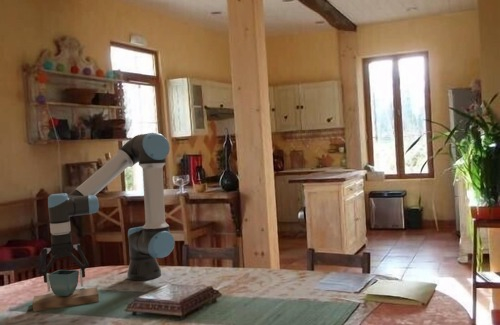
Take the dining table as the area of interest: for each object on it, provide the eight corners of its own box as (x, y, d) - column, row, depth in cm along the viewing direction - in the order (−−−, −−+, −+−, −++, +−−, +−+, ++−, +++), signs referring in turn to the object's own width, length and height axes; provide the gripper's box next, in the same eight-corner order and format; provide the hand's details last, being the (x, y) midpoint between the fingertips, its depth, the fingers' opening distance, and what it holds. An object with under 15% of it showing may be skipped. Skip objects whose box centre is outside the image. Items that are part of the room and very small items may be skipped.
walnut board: (97, 294, 231) (96, 287, 231) (99, 301, 219) (98, 293, 219) (34, 303, 223) (34, 296, 223) (33, 311, 212) (32, 303, 212)
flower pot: (69, 297, 216) (69, 274, 216) (48, 297, 217) (47, 274, 217) (80, 292, 224) (79, 269, 224) (59, 292, 226) (58, 269, 226)
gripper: (92, 228, 228) (96, 281, 228) (28, 235, 220) (33, 290, 221) (92, 230, 221) (97, 285, 221) (27, 238, 213) (32, 295, 214)
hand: (65, 288), depth 221 cm, fingers open, 12 cm apart
